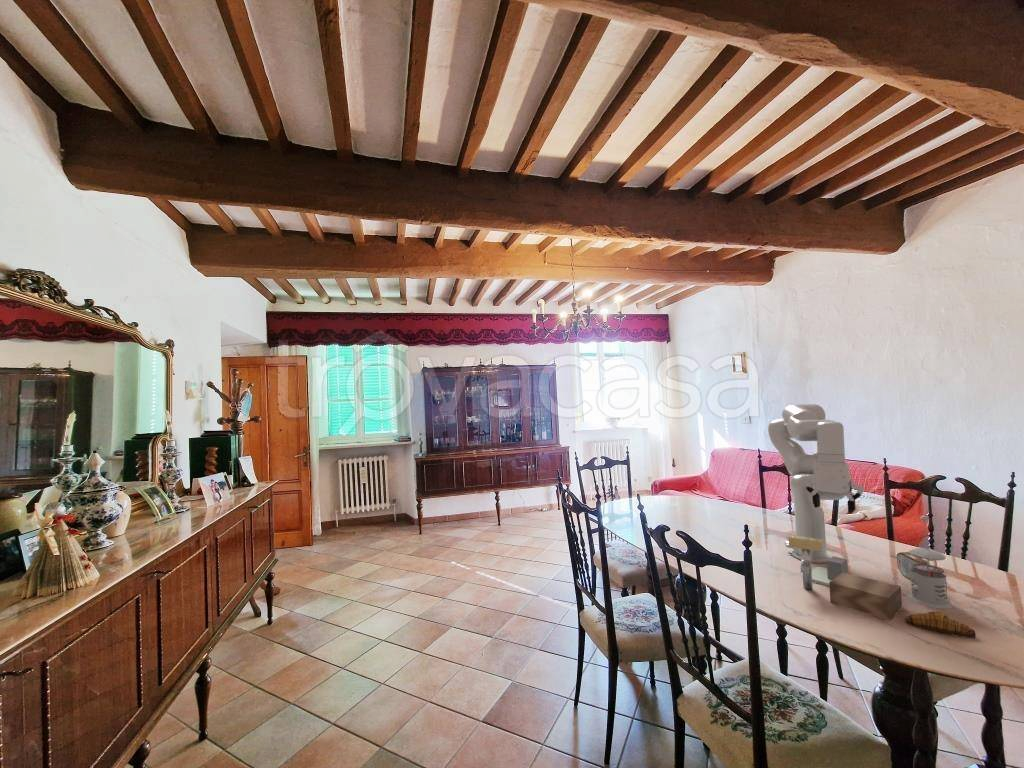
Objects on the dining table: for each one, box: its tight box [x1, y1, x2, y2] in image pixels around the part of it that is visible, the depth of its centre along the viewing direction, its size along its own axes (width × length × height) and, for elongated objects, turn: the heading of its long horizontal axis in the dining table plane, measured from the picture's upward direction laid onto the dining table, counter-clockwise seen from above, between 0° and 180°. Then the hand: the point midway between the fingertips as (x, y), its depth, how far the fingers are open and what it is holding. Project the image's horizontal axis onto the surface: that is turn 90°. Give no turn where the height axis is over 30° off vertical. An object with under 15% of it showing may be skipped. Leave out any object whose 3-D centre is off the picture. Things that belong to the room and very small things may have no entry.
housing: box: [828, 572, 903, 621], centre depth 131 cm, size 14×12×6 cm
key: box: [787, 534, 823, 590], centre depth 140 cm, size 10×9×16 cm
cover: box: [811, 556, 849, 587], centre depth 148 cm, size 16×14×8 cm
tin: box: [895, 551, 933, 583], centre depth 146 cm, size 15×3×8 cm, turn 168°
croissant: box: [904, 611, 977, 638], centre depth 116 cm, size 14×7×5 cm, turn 54°
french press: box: [907, 515, 953, 609], centre depth 133 cm, size 10×12×25 cm
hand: (833, 509), depth 149 cm, fingers open, 9 cm apart
